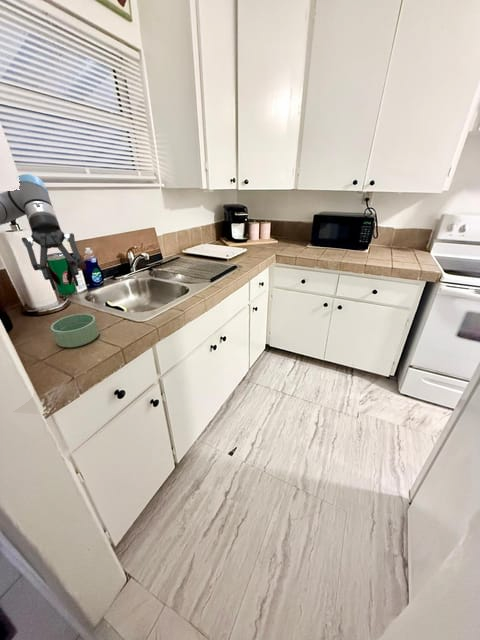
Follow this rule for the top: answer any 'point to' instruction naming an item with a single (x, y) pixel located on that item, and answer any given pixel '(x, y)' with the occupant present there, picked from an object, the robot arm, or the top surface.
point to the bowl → (75, 330)
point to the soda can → (61, 273)
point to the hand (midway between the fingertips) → (65, 285)
